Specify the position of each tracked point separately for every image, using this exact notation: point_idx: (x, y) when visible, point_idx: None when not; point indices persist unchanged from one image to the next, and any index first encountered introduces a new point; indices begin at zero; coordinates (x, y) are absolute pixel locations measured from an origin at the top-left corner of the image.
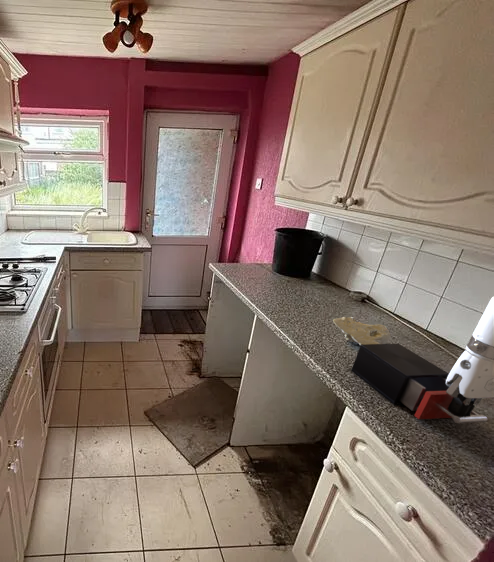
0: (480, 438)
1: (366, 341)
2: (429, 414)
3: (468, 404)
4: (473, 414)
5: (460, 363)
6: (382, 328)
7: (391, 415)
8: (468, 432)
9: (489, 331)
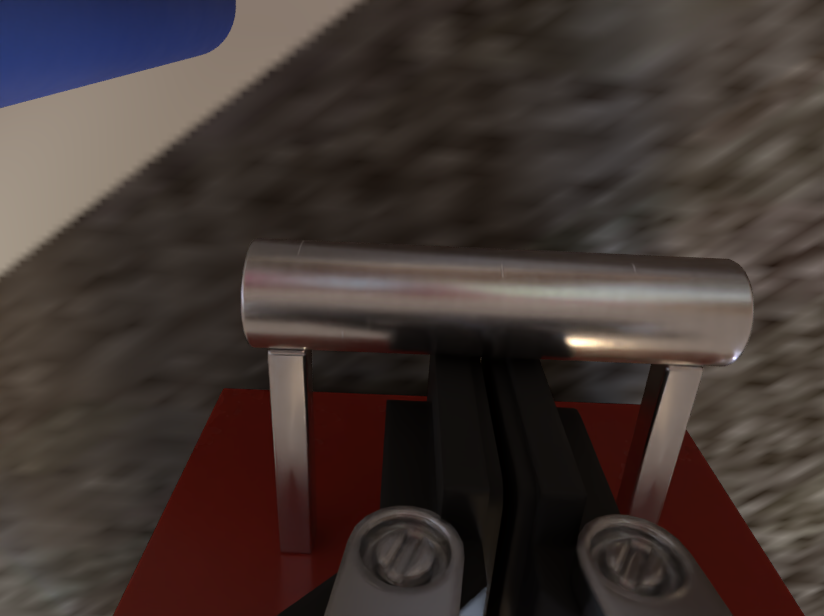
0: (242, 157)
1: None
2: (595, 437)
3: (591, 531)
4: (311, 367)
5: None
6: None
7: (799, 463)
8: (287, 235)
9: None
